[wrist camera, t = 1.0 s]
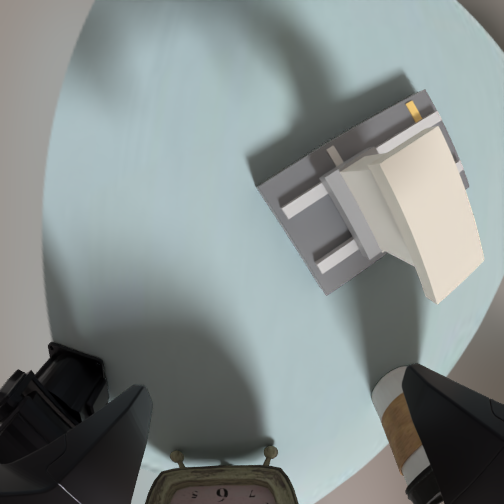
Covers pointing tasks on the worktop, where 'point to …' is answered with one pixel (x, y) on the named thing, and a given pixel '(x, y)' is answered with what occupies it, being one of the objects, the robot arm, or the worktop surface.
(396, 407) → the coffee cup
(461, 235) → the plate
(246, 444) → the worktop surface
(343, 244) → the fader console
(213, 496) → the tabletop clock
